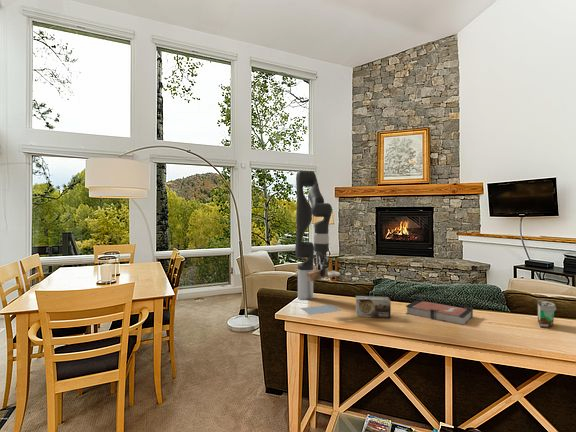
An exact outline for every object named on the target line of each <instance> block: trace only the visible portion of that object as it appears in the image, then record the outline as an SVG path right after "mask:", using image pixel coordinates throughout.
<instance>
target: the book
mask: <svg viewBox="0 0 576 432" xmlns="http://www.w3.org/2000/svg"><path fill="white" fill-rule="evenodd" d="M425 300H426V299H424V298H423V299H422V298H416V299H415V301H413V302H411V303H408V304H407V305H406V306H405V307H406V315H410V316H415V317H421V318H425V319H431V320H436V321H440V322H446V323H451V324H454V325H455V324H456V325H460V326H465V325H466V324H467V322H468V323H469V321H470V320H471V319H472V318H473V317H474V314H473V312H474V311H473V310H474V308H473V306H472V307H471V306H464V307H460V306H453V305H448V304H442V303H436V302H432V301H431V302H430V301H425Z"/></svg>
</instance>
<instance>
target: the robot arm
mask: <svg viewBox="0 0 576 432" xmlns="http://www.w3.org/2000/svg"><path fill="white" fill-rule="evenodd" d="M295 176H296V177H295V180H296V181H295V182H296V184H295V186H296V187H295V188H296V216H295V221H296V222H295V223H296V224H295V225H296V233H295V234H296V235H295V247H294V248H295V249H294V251H295V252H294V253H295V258H298V259H303V258H304V259H306V260H304V261H303V262H301V263H298V264H297V299H299V300H305V301H307V300H313V299H314V281H309V280H308V275H307V273H308V272H312V271H314V266H315V267H316V270H319V269H321V277H324V276H325V269H328V268H329V264H330V257H328V255H327V252H329V248H330V247H329V246H330V243H329V241H330V237H329V236H330V235H329V225H330V219H331V216H332V213H333V207H332V205H331V204H330V203H327V202H326V203H325V200H324V196H323V195H322V193H321V191H320V187H319V182H318V178H317V175H316V174H315V172H314V171H312V170H298V171H297V173H296V175H295ZM305 187H306V188H307V187H308V188H310V189H309V191H308V195H307V196H308V199H309V201H308V199H307V198H306V195H305V193H304V189H303V188H305ZM313 217H316V218H322V220H320V221H316V222H315V223H314V236H313V242H311V241H304V242H302V240H303V236H304V234H305V232H306V230H307V229H308V228H309V226H310V225H311V223H312V220H313Z"/></svg>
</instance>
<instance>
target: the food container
mask: <svg viewBox="0 0 576 432" xmlns="http://www.w3.org/2000/svg"><path fill="white" fill-rule="evenodd" d="M556 311H557V306H556V304H555V303H553V302H551V301H546V300H541V299H537V324H538V325H539V328H541V329H542V328H543V329H553V328H552V327H554V320H555V318H554V317H555V312H556Z"/></svg>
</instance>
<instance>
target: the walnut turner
mask: <svg viewBox="0 0 576 432" xmlns="http://www.w3.org/2000/svg"><path fill="white" fill-rule="evenodd" d="M307 275H308V280H309V281H313V282H314V281H317V280H321V279H325V278H335V277H337V276H341V273H340V272H339V271H335V270H331V271H328V268H326V269H325V276H324V277H321V269H319V270H317V269H316V270H313V271H312V272H308V273H307Z"/></svg>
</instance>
